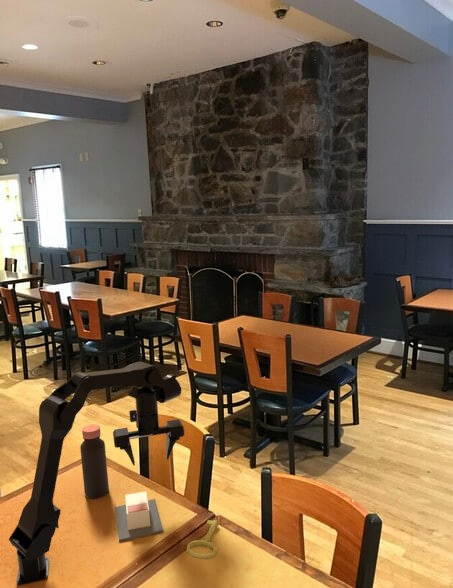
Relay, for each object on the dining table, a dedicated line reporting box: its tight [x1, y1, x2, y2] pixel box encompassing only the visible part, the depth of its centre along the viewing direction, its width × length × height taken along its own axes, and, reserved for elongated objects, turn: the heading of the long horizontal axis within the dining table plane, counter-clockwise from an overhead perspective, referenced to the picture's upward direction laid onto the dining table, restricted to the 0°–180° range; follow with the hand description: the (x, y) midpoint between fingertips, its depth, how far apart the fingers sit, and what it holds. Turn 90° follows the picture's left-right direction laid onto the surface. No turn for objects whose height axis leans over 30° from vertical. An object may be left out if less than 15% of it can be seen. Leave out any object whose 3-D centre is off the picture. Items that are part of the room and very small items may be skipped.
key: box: [186, 519, 219, 560], centre depth 120 cm, size 7×12×2 cm, turn 179°
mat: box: [114, 498, 164, 543], centre depth 128 cm, size 14×11×1 cm
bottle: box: [79, 423, 110, 499], centre depth 140 cm, size 7×7×20 cm
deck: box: [125, 491, 150, 530], centre depth 128 cm, size 6×9×5 cm, turn 14°
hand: (150, 461), depth 134 cm, fingers open, 9 cm apart
